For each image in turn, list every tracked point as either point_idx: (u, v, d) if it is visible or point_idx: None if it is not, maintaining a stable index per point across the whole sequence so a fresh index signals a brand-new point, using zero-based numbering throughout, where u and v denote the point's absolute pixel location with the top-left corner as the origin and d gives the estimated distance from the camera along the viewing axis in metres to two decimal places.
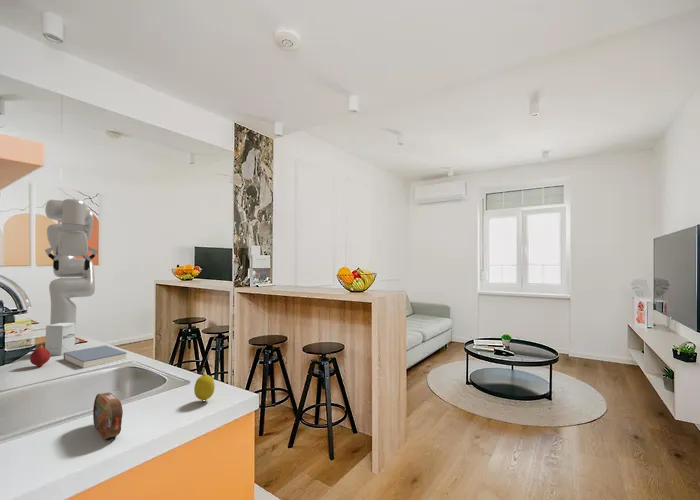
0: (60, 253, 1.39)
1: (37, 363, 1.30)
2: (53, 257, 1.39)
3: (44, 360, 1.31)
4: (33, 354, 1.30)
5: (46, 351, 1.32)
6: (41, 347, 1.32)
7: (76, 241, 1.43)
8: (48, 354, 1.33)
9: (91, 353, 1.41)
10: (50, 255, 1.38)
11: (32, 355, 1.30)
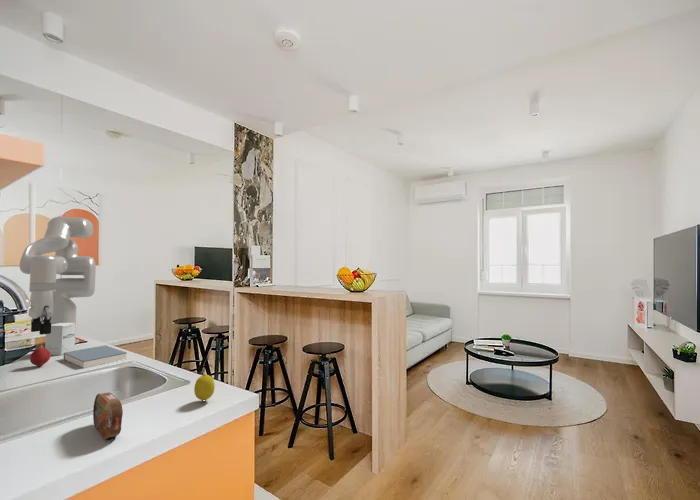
0: (51, 314, 1.32)
1: (37, 363, 1.30)
2: None
3: (44, 360, 1.31)
4: (33, 354, 1.30)
5: (46, 351, 1.32)
6: (41, 347, 1.32)
7: None
8: (48, 354, 1.33)
9: (91, 353, 1.41)
10: None
11: (32, 355, 1.30)
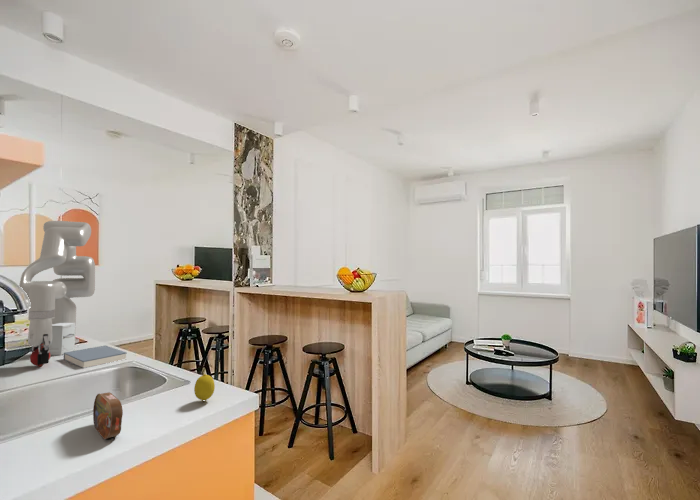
0: (51, 342, 1.32)
1: None
2: None
3: None
4: (33, 354, 1.30)
5: None
6: (41, 347, 1.32)
7: None
8: None
9: (91, 353, 1.41)
10: None
11: (32, 355, 1.30)
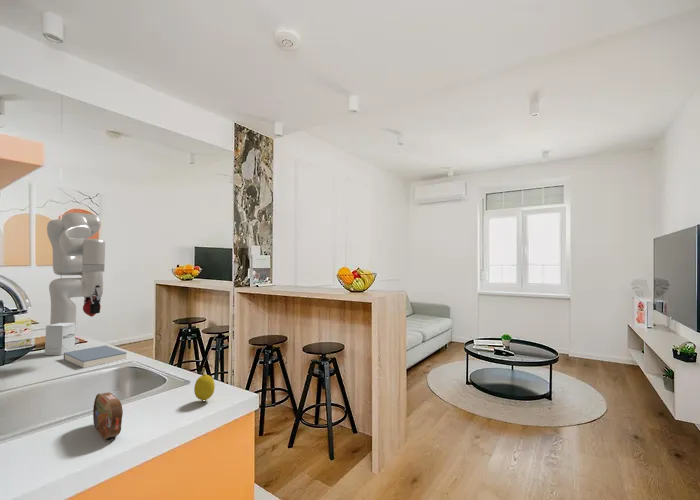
0: None
1: None
2: None
3: None
4: (86, 304, 1.40)
5: None
6: None
7: None
8: None
9: (91, 353, 1.41)
10: None
11: (85, 305, 1.40)
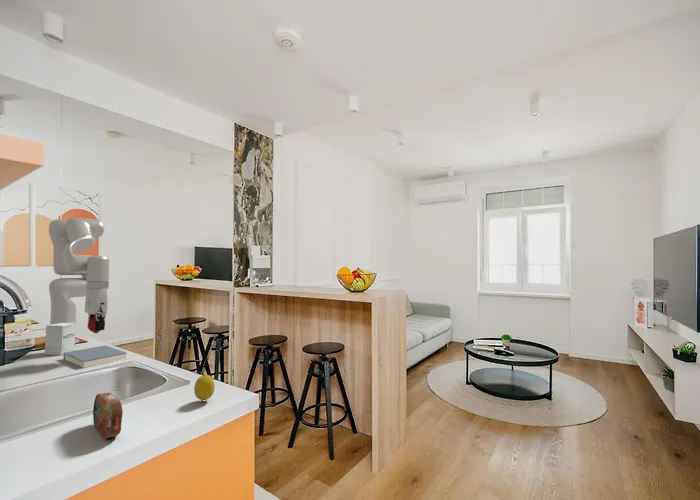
0: None
1: (94, 329, 1.41)
2: None
3: None
4: (91, 321, 1.40)
5: None
6: None
7: None
8: None
9: (91, 353, 1.41)
10: None
11: (90, 322, 1.40)
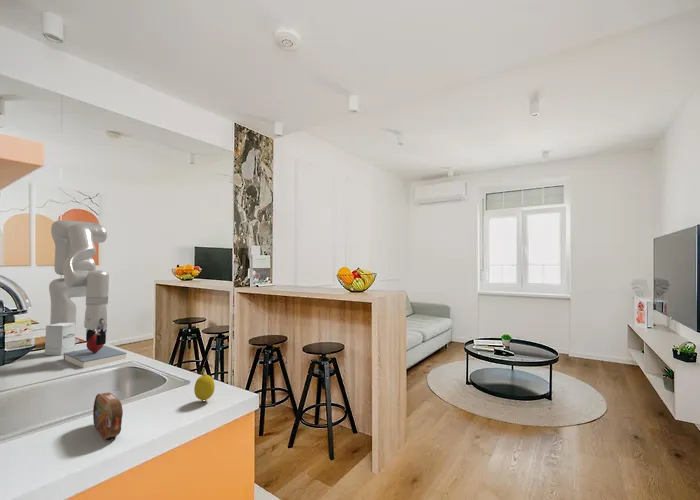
0: None
1: (93, 349, 1.41)
2: None
3: (99, 347, 1.42)
4: (90, 341, 1.40)
5: None
6: None
7: None
8: None
9: (91, 353, 1.41)
10: None
11: (89, 342, 1.40)
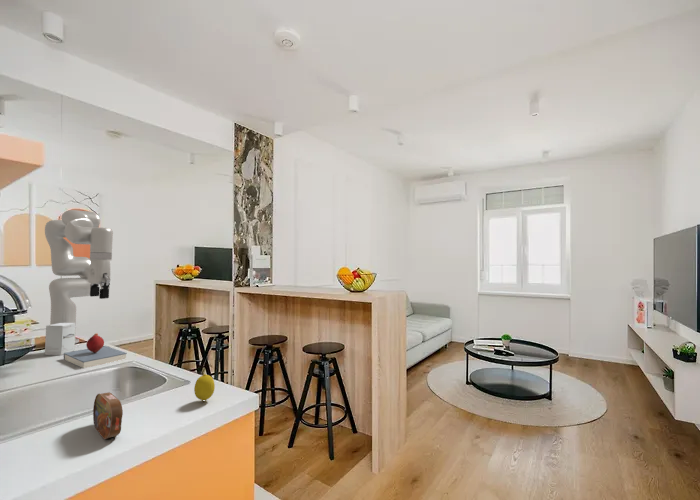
0: None
1: (93, 349, 1.41)
2: None
3: (99, 347, 1.42)
4: (90, 341, 1.40)
5: (100, 338, 1.43)
6: (96, 335, 1.43)
7: None
8: (102, 341, 1.43)
9: (91, 353, 1.41)
10: None
11: (89, 342, 1.40)
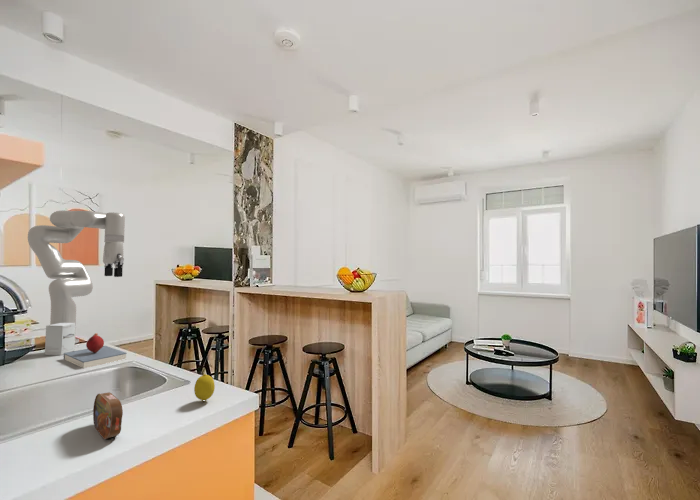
0: None
1: (93, 349, 1.41)
2: None
3: (99, 346, 1.42)
4: (89, 341, 1.40)
5: (100, 338, 1.43)
6: (96, 335, 1.43)
7: None
8: (102, 341, 1.43)
9: (91, 353, 1.41)
10: None
11: (89, 342, 1.40)
